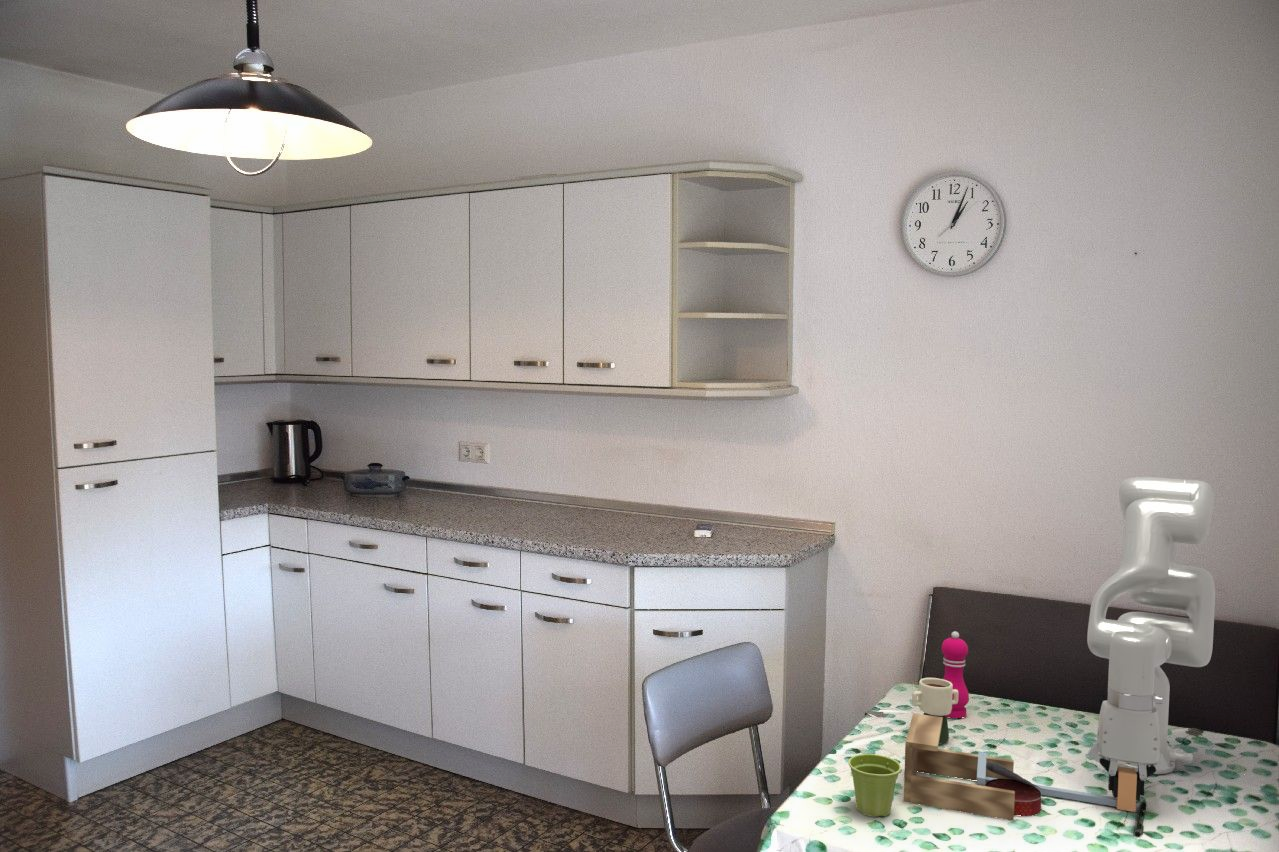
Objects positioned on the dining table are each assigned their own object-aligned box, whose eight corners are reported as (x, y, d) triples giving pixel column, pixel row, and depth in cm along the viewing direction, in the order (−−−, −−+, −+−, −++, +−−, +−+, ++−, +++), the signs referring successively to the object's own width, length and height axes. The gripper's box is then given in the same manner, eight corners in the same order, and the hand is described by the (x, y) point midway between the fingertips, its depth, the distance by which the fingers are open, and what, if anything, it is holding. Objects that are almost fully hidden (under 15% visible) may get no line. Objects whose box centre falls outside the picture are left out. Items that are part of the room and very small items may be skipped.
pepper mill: (970, 721, 219) (973, 636, 218) (938, 718, 221) (941, 634, 220) (966, 710, 227) (969, 628, 226) (934, 708, 228) (937, 626, 227)
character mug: (948, 733, 212) (950, 676, 211) (964, 745, 205) (967, 686, 204) (903, 735, 210) (905, 678, 209) (918, 748, 203) (920, 688, 202)
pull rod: (1133, 805, 176) (1134, 768, 176) (1143, 838, 163) (1145, 798, 163) (977, 780, 186) (978, 745, 186) (975, 809, 173) (977, 772, 173)
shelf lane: (1012, 785, 185) (1015, 727, 184) (1013, 820, 169) (1016, 758, 169) (911, 768, 192) (913, 713, 191) (903, 801, 176) (905, 741, 176)
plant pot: (890, 827, 166) (892, 779, 166) (839, 813, 171) (841, 766, 171) (906, 807, 174) (907, 761, 174) (856, 794, 179) (858, 749, 179)
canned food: (983, 821, 179) (971, 766, 184) (1036, 817, 179) (1024, 762, 183) (999, 818, 169) (987, 760, 173) (1056, 814, 169) (1042, 756, 173)
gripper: (1176, 699, 175) (1172, 796, 176) (1079, 687, 181) (1075, 781, 182) (1184, 712, 168) (1179, 813, 169) (1083, 699, 174) (1078, 796, 175)
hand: (1125, 795), depth 175 cm, fingers closed on pull rod, 3 cm apart
